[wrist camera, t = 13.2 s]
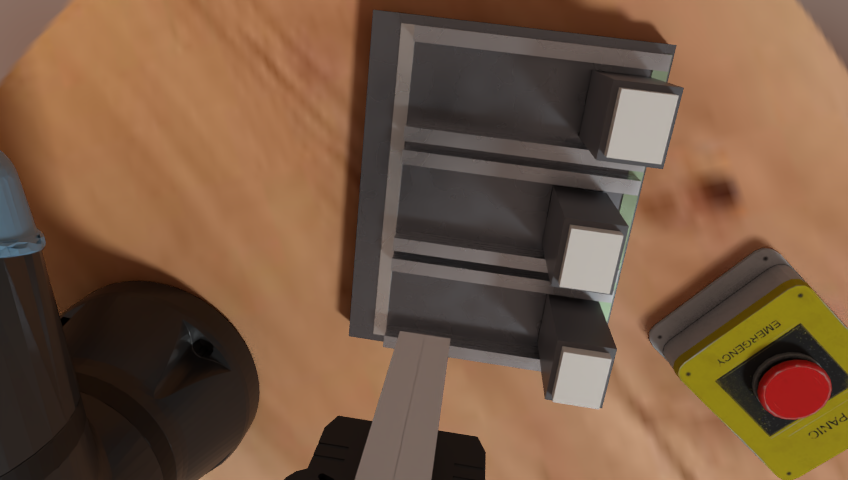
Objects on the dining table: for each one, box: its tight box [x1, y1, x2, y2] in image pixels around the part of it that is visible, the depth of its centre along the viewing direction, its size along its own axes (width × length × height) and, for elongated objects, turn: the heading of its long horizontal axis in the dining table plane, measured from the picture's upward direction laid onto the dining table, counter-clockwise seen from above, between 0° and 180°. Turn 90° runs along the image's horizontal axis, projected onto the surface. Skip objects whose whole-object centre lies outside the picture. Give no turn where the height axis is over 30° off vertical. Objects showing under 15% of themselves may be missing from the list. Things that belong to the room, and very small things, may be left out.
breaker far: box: [538, 294, 617, 409], centre depth 33 cm, size 3×4×7 cm
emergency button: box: [649, 248, 848, 480], centre depth 36 cm, size 9×4×15 cm
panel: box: [349, 10, 676, 371], centre depth 35 cm, size 16×20×3 cm
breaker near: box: [579, 70, 684, 169], centre depth 29 cm, size 3×4×7 cm
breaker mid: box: [542, 186, 629, 295], centre depth 31 cm, size 3×4×7 cm
